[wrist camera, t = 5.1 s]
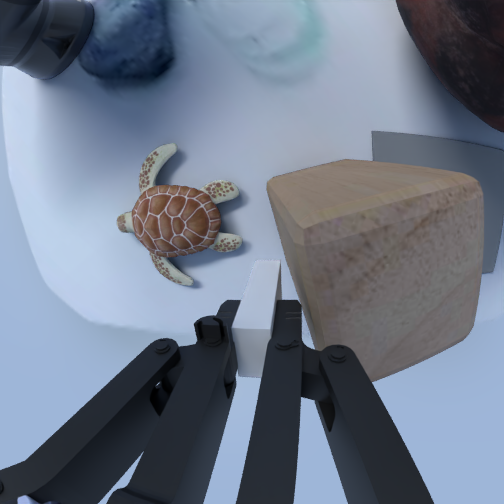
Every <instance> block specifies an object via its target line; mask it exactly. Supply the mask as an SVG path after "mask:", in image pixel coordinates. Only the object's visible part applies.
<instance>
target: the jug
mask: <svg viewBox="0 0 504 504" xmlns="http://www.w3.org/2000/svg"><path fill="white" fill-rule="evenodd" d="M396 3H397V7H398V10H399V12H400V15H401V17H402V20H403V22H404V24H405V27H406V29H407V30H408V32H409V34H410V36H411V38H412V39H413V41H414V43H415V44H416V46H417V48H418V49H419V51H420V53H421V54H422V56H423V57H424V59H425V60H426V62H427V63H428V65H429V67H430V68H431V70H432V71H433V72H434V73H435V75H436V76H437V78H438V79H439V80H440V81H441V83H442V84H443V85H444V86H445V87H446V88H447V90H448V91H449V92H450V93H451V94H452V95H453V96H454V97H455V98H456V99H457V100H458V101H459V102H461V103H462V104H463V105H464V106H465V107H466V108H467V109H469V110H470V111H471V112H472V113H474V114H475V115H476V116H477V117H479V118H480V119H481V120H483V121H484V122H485V123H487V124H488V125H490V126H491V127H492V128H494V129H497V130H499V131H501V132H504V0H396Z"/></svg>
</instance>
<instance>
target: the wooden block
mask: <svg viewBox="0 0 504 504" xmlns="http://www.w3.org/2000/svg"><path fill="white" fill-rule="evenodd" d="M267 193H268V196H269V200H270V203H271V207H272V210H273V214H274V217H275V221H276V225H277V228H278V232H279V235H280V239H281V243H282V246H283V250H284V254H285V258H286V261H287V264H288V267H289V270H290V273H291V276H292V279H293V282H294V285H295V288H296V291H297V294H298V297H299V300H300V303H301V306H302V309H303V312H304V315H305V318H306V321H307V325H308V328H309V331H310V334H311V337H312V340H313V344H314V347H315V350H318V351H322V350H323V349H324V348H325V347H327V346H330V345H336V344H340V345H345V346H347V347H349V348H351V349H352V350H353V351H354V353H355V354H356V356H357V358H358V359H359V361H360V363H361V365H362V366H363V368H364V370H365V372H366V373H367V375H368V377H369V379H370V380H371V382H374V381H377V380H379V379H382V378H384V377H387V376H389V375H392V374H395V373H397V372H399V371H402V370H404V369H406V368H409V367H411V366H413V365H415V364H418V363H420V362H422V361H424V360H426V359H428V358H430V357H432V356H434V355H436V354H438V353H440V352H442V351H444V350H446V349H448V348H450V347H452V346H454V345H456V344H457V343H459V342H461V341H463V340H464V339H465V338H466V337H467V335H468V334H469V333H470V331H471V330H472V328H473V326H474V321H475V316H476V310H477V304H478V298H479V291H480V283H481V274H482V263H483V248H484V199H483V192H482V189H481V186H480V183H479V181H477V180H476V179H475V178H473V177H471V176H469V175H467V174H464V173H460V172H454V171H448V170H442V169H436V168H429V167H422V166H414V165H406V164H397V163H388V162H377V161H364V160H349V159H345V160H340V161H336V162H331V163H327V164H323V165H319V166H315V167H310V168H306V169H302V170H299V171H295V172H291V173H287V174H283V175H280V176H276V177H273V178H272V179H270V180H269V181H268V182H267Z"/></svg>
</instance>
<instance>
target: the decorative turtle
mask: <svg viewBox="0 0 504 504" xmlns="http://www.w3.org/2000/svg"><path fill="white" fill-rule="evenodd" d="M176 152H177V145H176V144H175V143H170V144H165V145H162V146H160V147H158V148H156V149H155V150H153V151H152V152H151V153H150V154H149V155H148V156H147V158H146V159H145V161H144V162H143V165H142V167H141V170H140V176H139V189H140V192H141V196H140V197H139V199H138V200H137V202H136V204H135V206H134V208H133V210H132V211H131V212H126V213H124V214H122V215H120V216H118V218H117V226H118V228H119V230H120V231H121V232H126V233H133V232H134V233H135V236H136V237H137V239H138V240H139V241H140V242H141V243H142V244H143V245H144V246H145V247H146V248H147V249H148V250H149V251H150V256H151V259H152V261H153V263H154V265H155V267H156V269H157V270H158V271H159V272H160V274H162V275H163V276H164V277H166V278H167V279H169V280H171V281H173V282H175V283H177V284H181V285H187V286H191V285H193V283H194V281H193V279H192V278H191V277H189V276H187V275H185V274H183V273H182V272H181V271H179V270H178V269H177V268H176V267H175V266H174V265H173V264H172V263H171V262H170V261H169V260H168V259H167V258H168V257H177V256H180V255H182V256H185V255H188V254H194V253H196V252H198V251H203V250H204V249H207V248H210V249H212V250H215V251H217V252H230V251H234V250H236V249H238V248H239V247H240V246H241V244H242V238H241V237H240V236H238V235H235V234H226V233H221V232H219V229H220V226H221V219H220V218H221V215H220V212H219V210H218V208H217V207H216V205H215V204H218V203H221V202H225V201H229V200H232V199H234V198H236V197H238V196H239V190H238V188H237V186H236V185H235V184H233V183H231V182H228V181H224V180H216V181H213V182H210V183H208V184H206V185H205V186H204V187H202V188H201V189H199V190H197V189H195V188H190V187H187V186H178V185H173V186H171V185H158V186H156V185H155V180H156V177H157V174H158V172H159V171H160V169H161V168H162V166H163V165H164V164H165V162H166V161H167V160H168V159H169V158H170V157H171V156H173V155H174V154H175V153H176Z"/></svg>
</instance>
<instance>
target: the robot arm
mask: <svg viewBox="0 0 504 504" xmlns="http://www.w3.org/2000/svg"><path fill="white" fill-rule="evenodd" d="M93 17H94V11H93V7H92V5H91V4H90V3H89V2H88V1H86V0H0V66H13V67H15V68H17V69H19V70H21V71H22V72H24V73H26V74H28V75H30V76H31V77H33V78H37V79H50V78H53V77H55V76H57V75H58V74H60V73H61V72H62V71H63V70H64V69H66V68H67V67H68V66H69V64H70V63H71V62H72V61H73V60H74V58H75V57H76V56H77V54H78V53H79V51H80V50H81V48H82V47H83V45H84V43H85V41H86V39H87V37H88V35H89V32H90V30H91V27H92V23H93ZM194 327H195V332H196V336H197V342H196V344H193V345H189V346H180V347H178V344H177V343H176V341H174V340H173V339H169V338H163V339H158V340H156V341H154V342H153V343H151V344H150V345H149V346H148V347H146V348H145V349H144V350H143V351H142V352H141V353H140V354H139V355H138V356H137V357H136V358H135V359H134V360H133V361H131V362H130V363H129V364H128V365H127V366H126V367H125V368H124V369H123V370H122V371H121V372H120V373H119V374H117V375H116V376H115V377H114V378H113V379H112V380H111V381H110V382H109V383H108V384H107V385H106V386H105V387H104V388H102V389H101V390H100V391H99V392H98V393H97V394H96V395H95V396H94V397H93V398H92V399H91V400H90V401H88V402H87V403H86V404H85V405H84V406H83V407H82V408H81V409H80V410H79V411H78V412H77V413H76V414H75V415H74V416H73V417H72V418H70V419H69V420H68V421H67V422H66V423H65V424H64V425H63V426H62V427H61V428H60V429H59V430H58V431H56V432H55V433H54V434H53V435H52V436H51V437H50V438H49V439H48V440H47V441H46V442H45V443H44V444H43V445H41V446H40V447H39V448H38V449H37V450H36V451H35V452H34V453H33V454H32V455H31V456H30V457H29V458H28V459H26V460H25V461H23V462H21V463H18V464H16V465H13V466H10V467H8V468H5V469H2V470H0V504H98V503H99V502H100V501H101V500H102V499H103V497H104V496H105V495H106V494H107V493H108V492H109V491H110V490H111V488H112V487H113V486H114V485H115V484H116V483H117V482H118V481H119V479H120V478H121V477H122V476H123V475H124V474H125V472H126V471H127V470H128V469H129V468H130V467H131V465H132V464H133V463H134V462H135V461H136V460H137V458H138V457H139V456H140V455H141V453H142V452H143V451H144V452H143V454H142V456H141V459H140V461H139V463H138V465H137V467H136V469H135V472H134V473H133V475H132V478H131V480H130V482H129V483H128V485H127V486H126V487H124V488H120V489H117V490H116V491H114V492H113V493H112V495H111V496H110V497H109V500H108V502H107V503H106V504H203V502H204V499H205V496H206V492H207V489H208V485H209V482H210V479H211V475H212V471H213V468H214V465H215V461H216V457H217V454H218V451H219V447H220V443H221V440H222V436H223V432H224V429H225V425H226V422H227V418H228V415H229V411H230V407H231V403H232V399H233V396H234V392H235V388H236V377H235V376H236V372H237V369H238V375H239V376H242V377H256V378H261V384H260V389H259V395H258V400H257V405H256V411H255V416H254V421H253V426H252V431H251V437H250V441H249V446H248V451H247V456H246V460H245V465H244V470H243V474H242V479H241V484H240V488H239V492H238V497H237V501H236V504H293V502H294V493H295V482H296V471H297V458H298V444H299V427H300V406H301V397H304V398H308V399H311V400H315V404H316V407H317V410H318V413H319V416H320V419H321V422H322V425H323V428H324V431H325V434H326V437H327V440H328V443H329V446H330V449H331V452H332V455H333V459H334V462H335V465H336V468H337V471H338V474H339V477H340V480H341V483H342V486H343V489H344V492H345V495H346V499H347V502H348V504H434V502H433V500H432V498H431V496H430V493H429V491H428V489H427V487H426V485H425V483H424V481H423V479H422V477H421V475H420V473H419V471H418V469H417V467H416V465H415V463H414V461H413V459H412V457H411V455H410V453H409V451H408V449H407V447H406V445H405V443H404V441H403V439H402V437H401V435H400V434H399V432H398V430H397V428H396V426H395V424H394V422H393V420H392V419H391V417H390V415H389V413H388V411H387V409H386V408H385V406H384V404H383V402H382V400H381V398H380V397H379V395H378V393H377V391H376V389H375V388H374V386H373V384H372V382H371V380H370V379H369V377H368V375H367V373H366V372H365V370H364V368H363V366H362V365H361V363H360V361H359V359H358V358H357V356H356V354H355V353H354V351H353V350H352V349H351V348H349V347H347V346H345V345H340V344H336V345H330V346H327V347H325V348H324V349H323V350H322V351H318V350H314V349H311V348H309V347H307V346H306V345H305V344H304V343H303V341H302V306H301V304H300V303H299V302H298V300H282V291H281V260H255V263H254V266H253V268H252V271H251V274H250V277H249V280H248V283H247V285H246V288H245V291H244V294H243V297H242V299H241V300H227V301H225V302H224V303H223V304H222V305H221V306H220V308H219V310H218V313H217V315H216V316H215V315H213V316H206V317H202V318H200V319H198V320H197V321H196V322H195V323H194ZM158 383H159V384H158ZM157 384H158V385H157ZM156 385H157V386H156ZM155 386H156V387H155Z"/></svg>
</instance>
